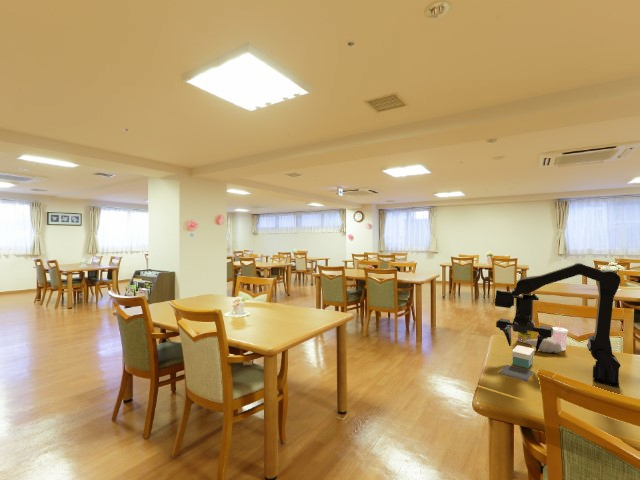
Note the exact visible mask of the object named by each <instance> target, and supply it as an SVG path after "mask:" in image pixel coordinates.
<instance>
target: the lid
mask: <svg viewBox="0 0 640 480" xmlns="http://www.w3.org/2000/svg"><path fill="white" fill-rule="evenodd" d="M535 352H536V348H533V347H528V346H523V345H515V347H514V348H513V349H512V350H511V356H512V357H513V356H514V357H518V358H522V359H526V360H530V359H531V358H532V356H533V357H534V356H535Z"/></svg>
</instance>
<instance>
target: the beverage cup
mask: <svg viewBox="0 0 640 480" xmlns="http://www.w3.org/2000/svg"><path fill="white" fill-rule="evenodd" d="M561 319H562V318H561V317H559V319H558V321H559V323H558V326H551V327H552V328H553V335H552V337H551V338H552V341H553V342H556V343H558V344H560V346H561V351H566V349H567V347H566V346H567V341H568V340H567V338H568V333H569V329H567V328H565V327H561V321H562V320H561Z"/></svg>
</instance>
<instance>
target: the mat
mask: <svg viewBox="0 0 640 480" xmlns="http://www.w3.org/2000/svg"><path fill="white" fill-rule="evenodd" d="M533 373H534V371H533V370H529V369H527V368H523V367H519V366H515V365H510V364H505V366H503V368H502V369H501V370H500V372H498V374H499V375H502V376H507V377H511V378H513V379H517V380H520V381H524V382H528V380H530V378H531V376H532V374H533Z"/></svg>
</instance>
